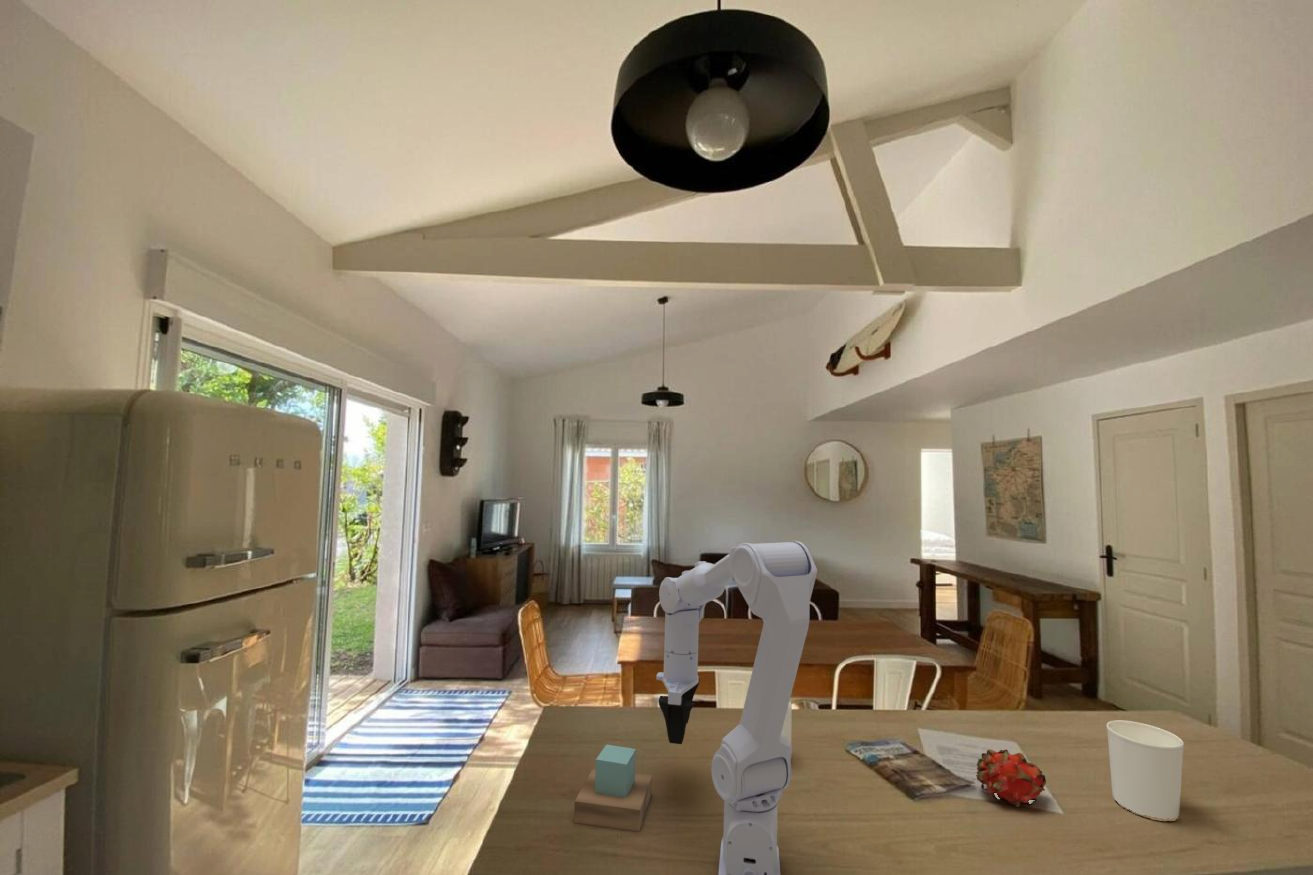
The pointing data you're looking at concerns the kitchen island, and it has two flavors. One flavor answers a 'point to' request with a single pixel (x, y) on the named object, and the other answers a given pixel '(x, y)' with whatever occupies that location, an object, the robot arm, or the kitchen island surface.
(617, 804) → the walnut block
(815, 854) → the kitchen island surface
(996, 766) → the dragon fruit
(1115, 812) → the kitchen island surface
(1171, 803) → the candle holder
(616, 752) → the teal cube
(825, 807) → the kitchen island surface
